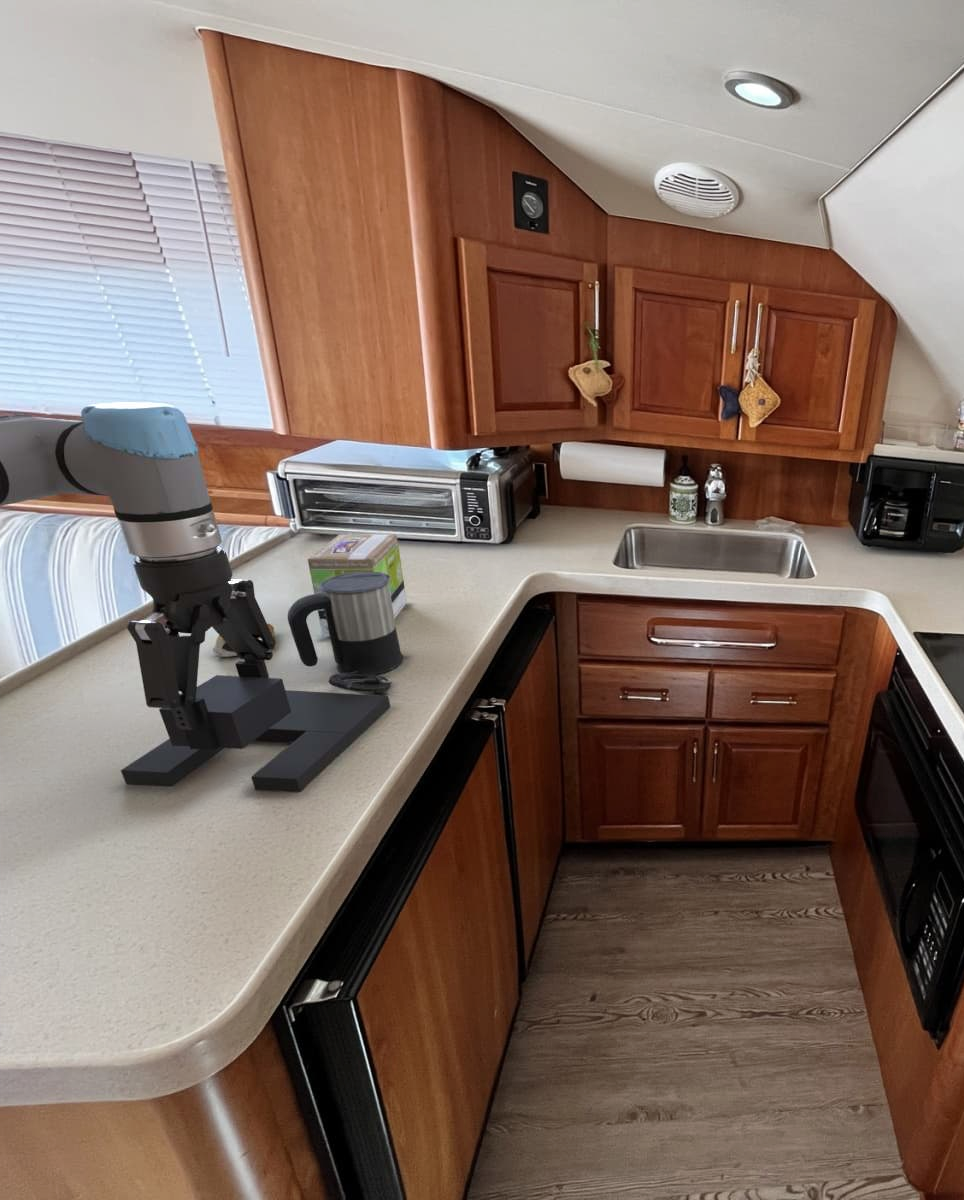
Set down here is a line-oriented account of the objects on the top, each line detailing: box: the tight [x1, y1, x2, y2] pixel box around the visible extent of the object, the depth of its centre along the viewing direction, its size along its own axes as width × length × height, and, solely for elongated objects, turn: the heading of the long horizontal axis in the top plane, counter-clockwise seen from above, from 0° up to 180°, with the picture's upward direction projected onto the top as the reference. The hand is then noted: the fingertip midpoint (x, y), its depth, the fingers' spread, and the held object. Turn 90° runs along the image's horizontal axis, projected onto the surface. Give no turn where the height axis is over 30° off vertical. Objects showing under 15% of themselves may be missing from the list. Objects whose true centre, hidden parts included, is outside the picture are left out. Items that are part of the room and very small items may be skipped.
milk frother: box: [287, 571, 405, 695], centre depth 98 cm, size 14×16×15 cm
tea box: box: [307, 533, 407, 637], centre depth 116 cm, size 15×10×15 cm, turn 17°
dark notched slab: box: [120, 689, 391, 793], centre depth 84 cm, size 20×19×2 cm
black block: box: [158, 674, 291, 750], centre depth 77 cm, size 8×8×5 cm
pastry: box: [212, 623, 275, 658], centre depth 106 cm, size 9×7×4 cm
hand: (234, 726), depth 78 cm, fingers closed on black block, 8 cm apart
